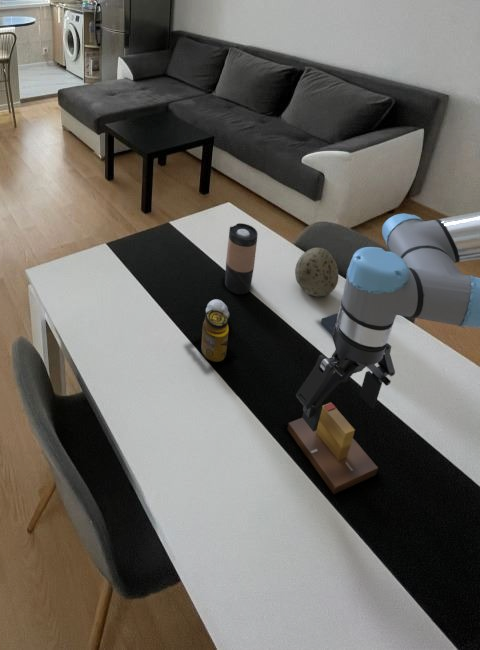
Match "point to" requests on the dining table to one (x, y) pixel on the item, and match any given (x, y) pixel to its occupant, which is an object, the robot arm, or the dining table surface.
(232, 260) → the travel mug
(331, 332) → the switch block
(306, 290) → the decorative egg
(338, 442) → the yellow upright flat block
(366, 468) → the brown wooden flat block
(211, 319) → the condiment
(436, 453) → the dining table surface
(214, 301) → the white lumpy ball
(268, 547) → the dining table surface
